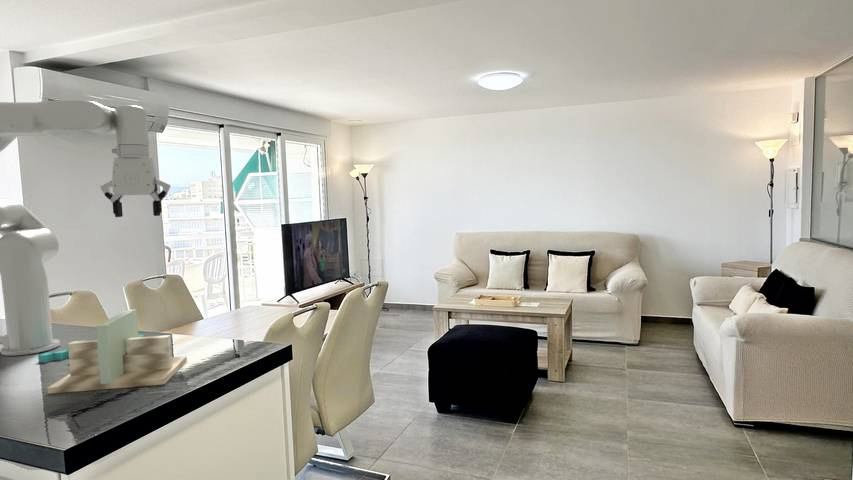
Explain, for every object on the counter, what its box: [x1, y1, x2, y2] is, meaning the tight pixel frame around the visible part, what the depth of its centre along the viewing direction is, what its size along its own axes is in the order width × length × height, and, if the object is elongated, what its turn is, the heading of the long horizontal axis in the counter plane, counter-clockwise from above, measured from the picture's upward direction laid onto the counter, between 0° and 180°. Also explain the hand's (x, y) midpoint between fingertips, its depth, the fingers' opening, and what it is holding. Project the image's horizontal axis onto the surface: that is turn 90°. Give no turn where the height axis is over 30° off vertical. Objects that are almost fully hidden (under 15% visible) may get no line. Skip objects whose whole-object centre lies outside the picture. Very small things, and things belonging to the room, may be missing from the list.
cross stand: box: [46, 334, 188, 395], centre depth 114 cm, size 22×16×8 cm
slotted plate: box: [95, 308, 139, 384], centre depth 114 cm, size 16×2×12 cm, turn 10°
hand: (138, 216), depth 143 cm, fingers open, 9 cm apart
